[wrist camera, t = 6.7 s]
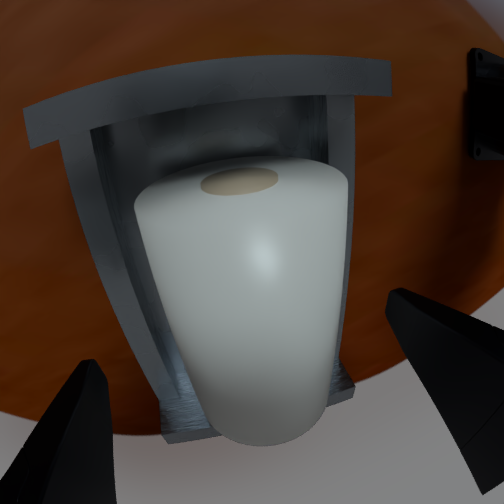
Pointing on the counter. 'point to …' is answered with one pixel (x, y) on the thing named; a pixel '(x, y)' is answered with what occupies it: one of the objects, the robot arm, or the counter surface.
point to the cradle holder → (188, 155)
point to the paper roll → (251, 286)
